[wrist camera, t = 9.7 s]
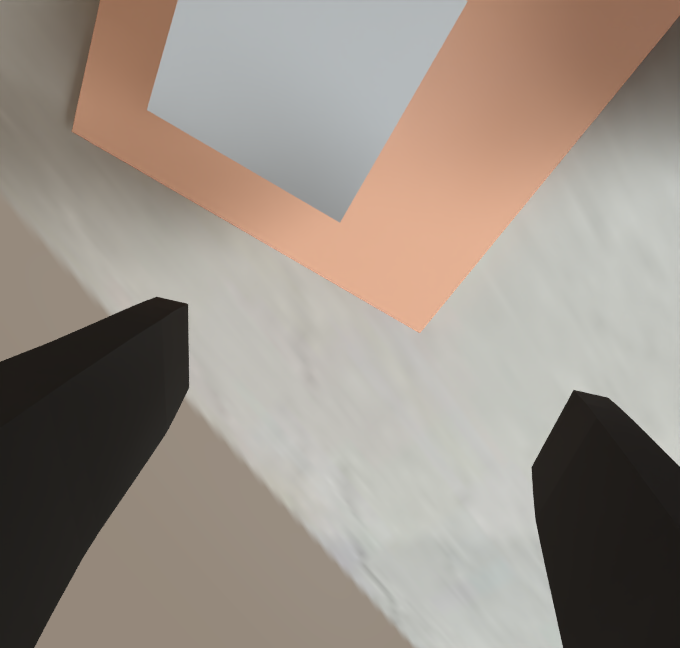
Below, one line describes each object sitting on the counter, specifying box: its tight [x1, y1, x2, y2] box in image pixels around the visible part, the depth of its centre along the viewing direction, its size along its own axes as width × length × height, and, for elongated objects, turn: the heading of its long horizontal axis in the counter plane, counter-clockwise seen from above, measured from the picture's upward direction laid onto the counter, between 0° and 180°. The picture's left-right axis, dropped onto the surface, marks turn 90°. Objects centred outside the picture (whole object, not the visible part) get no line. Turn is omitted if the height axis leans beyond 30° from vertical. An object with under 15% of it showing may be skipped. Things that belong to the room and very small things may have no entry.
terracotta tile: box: [72, 0, 680, 333], centre depth 14 cm, size 14×13×1 cm
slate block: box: [147, 0, 468, 222], centre depth 11 cm, size 4×4×7 cm
